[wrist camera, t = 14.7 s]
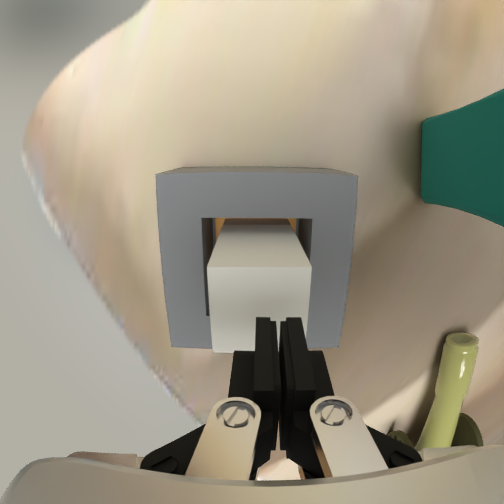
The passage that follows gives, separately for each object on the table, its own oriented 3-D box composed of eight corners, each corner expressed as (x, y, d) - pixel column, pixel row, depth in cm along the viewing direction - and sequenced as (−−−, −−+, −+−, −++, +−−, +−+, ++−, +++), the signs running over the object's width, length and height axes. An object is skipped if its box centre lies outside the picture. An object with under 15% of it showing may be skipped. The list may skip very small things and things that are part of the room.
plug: (287, 218, 23) (311, 266, 14) (285, 276, 25) (304, 351, 15) (225, 218, 23) (206, 267, 14) (226, 276, 25) (212, 352, 15)
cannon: (412, 334, 29) (463, 405, 18) (490, 319, 29) (544, 371, 18) (370, 464, 37) (388, 522, 26) (435, 447, 37) (459, 497, 26)
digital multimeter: (415, 201, 24) (444, 204, 24) (514, 234, 10) (551, 238, 10) (416, 118, 23) (445, 123, 22) (512, 76, 8) (551, 93, 8)
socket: (331, 169, 24) (358, 175, 18) (321, 306, 28) (338, 347, 21) (179, 167, 24) (155, 174, 18) (187, 305, 28) (171, 346, 21)
